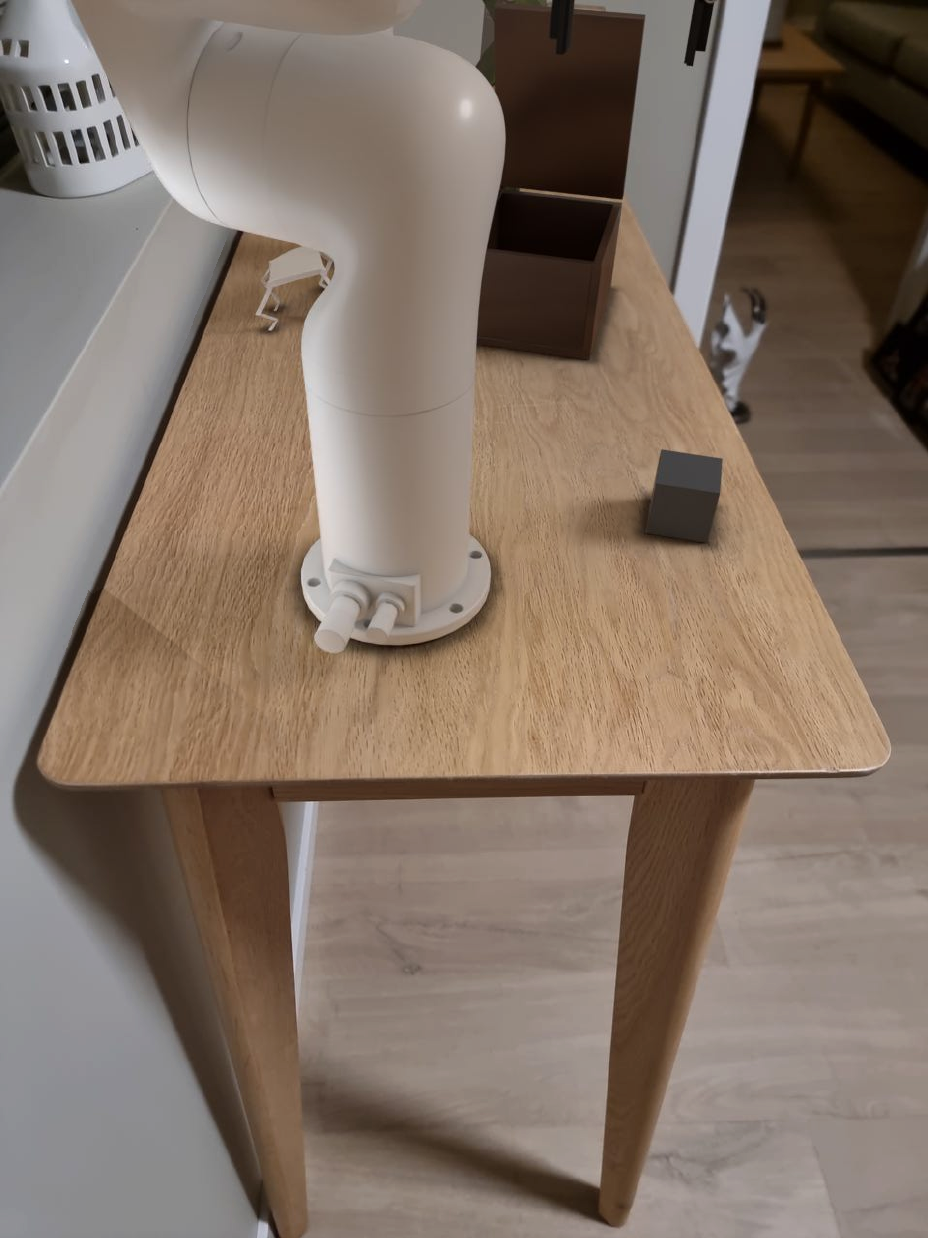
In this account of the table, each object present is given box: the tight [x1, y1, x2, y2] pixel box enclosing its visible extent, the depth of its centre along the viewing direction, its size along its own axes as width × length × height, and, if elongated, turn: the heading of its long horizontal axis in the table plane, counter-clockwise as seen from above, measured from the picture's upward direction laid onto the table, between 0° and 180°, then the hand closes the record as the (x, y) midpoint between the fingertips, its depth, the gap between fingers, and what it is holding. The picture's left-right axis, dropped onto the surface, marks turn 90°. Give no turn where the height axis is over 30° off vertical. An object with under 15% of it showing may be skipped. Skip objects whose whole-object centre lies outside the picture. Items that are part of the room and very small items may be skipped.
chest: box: [476, 189, 623, 361], centre depth 88 cm, size 16×13×9 cm
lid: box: [494, 1, 646, 201], centre depth 84 cm, size 16×13×5 cm
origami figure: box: [254, 245, 334, 332], centre depth 89 cm, size 12×8×5 cm
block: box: [645, 448, 724, 544], centre depth 66 cm, size 4×4×4 cm
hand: (625, 56), depth 70 cm, fingers open, 9 cm apart
